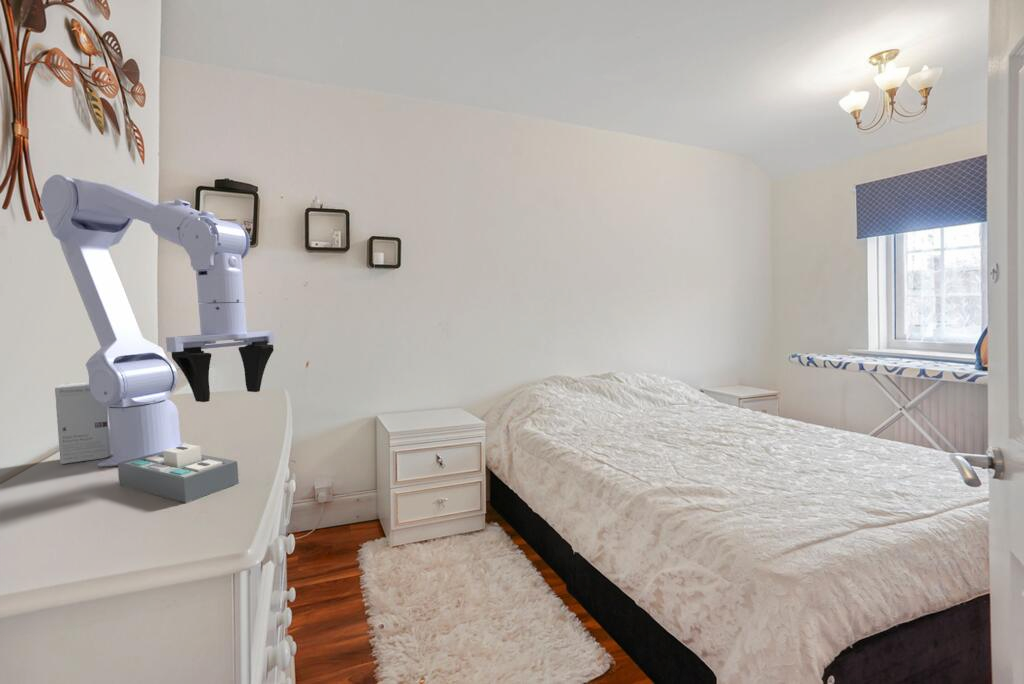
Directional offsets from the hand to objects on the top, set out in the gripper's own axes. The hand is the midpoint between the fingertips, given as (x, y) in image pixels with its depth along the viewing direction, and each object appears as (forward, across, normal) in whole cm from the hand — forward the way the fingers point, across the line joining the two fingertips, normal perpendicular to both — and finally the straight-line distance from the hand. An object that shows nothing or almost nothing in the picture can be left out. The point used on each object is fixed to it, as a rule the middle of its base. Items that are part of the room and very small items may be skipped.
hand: (229, 396), depth 68 cm
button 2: (+9, -7, -5) cm, 13 cm away
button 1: (+9, -7, +4) cm, 12 cm away
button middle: (+8, -7, -1) cm, 11 cm away
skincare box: (+11, -6, +27) cm, 30 cm away
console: (+10, -8, 0) cm, 13 cm away
